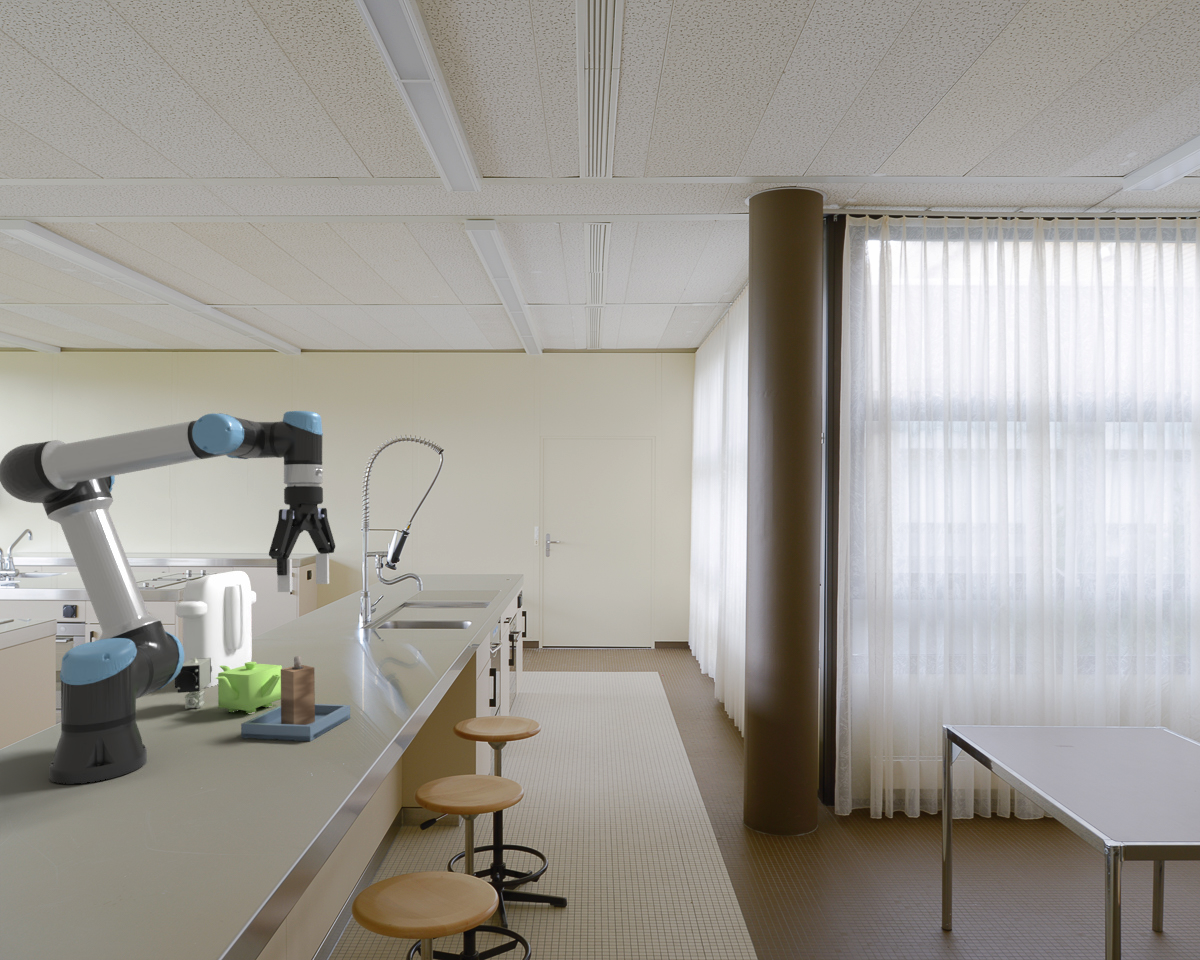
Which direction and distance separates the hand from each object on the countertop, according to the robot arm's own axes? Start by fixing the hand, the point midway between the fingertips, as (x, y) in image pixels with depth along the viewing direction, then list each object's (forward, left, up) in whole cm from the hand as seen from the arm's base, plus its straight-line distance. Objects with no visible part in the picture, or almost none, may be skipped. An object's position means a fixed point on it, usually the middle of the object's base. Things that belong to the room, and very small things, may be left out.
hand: (304, 587), depth 153 cm
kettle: (+20, +28, -32) cm, 47 cm away
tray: (+8, +7, -32) cm, 33 cm away
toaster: (+46, +55, -32) cm, 78 cm away
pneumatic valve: (+20, +43, -32) cm, 57 cm away
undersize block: (+8, +7, -31) cm, 32 cm away
